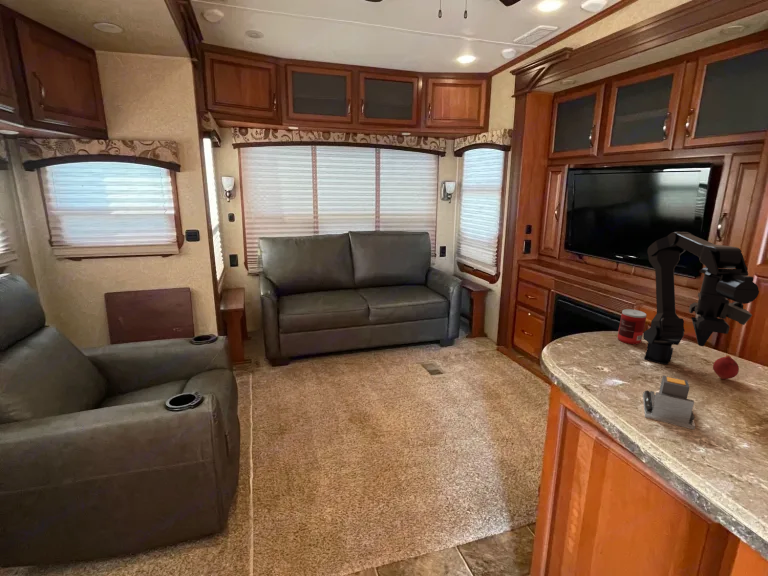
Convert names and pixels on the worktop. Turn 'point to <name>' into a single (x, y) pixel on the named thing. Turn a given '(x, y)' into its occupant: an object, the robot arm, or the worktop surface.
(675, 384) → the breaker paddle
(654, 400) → the grey handled base plate
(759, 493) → the worktop surface
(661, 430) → the worktop surface
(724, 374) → the onion
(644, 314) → the canned food
